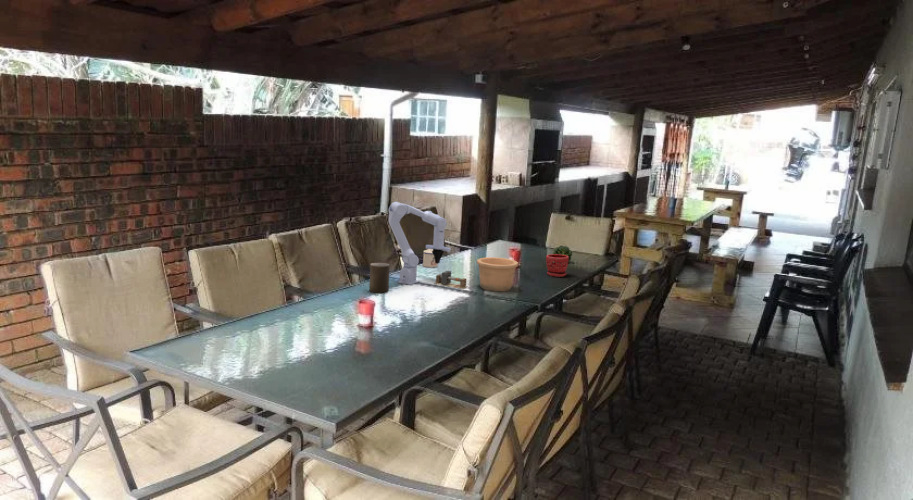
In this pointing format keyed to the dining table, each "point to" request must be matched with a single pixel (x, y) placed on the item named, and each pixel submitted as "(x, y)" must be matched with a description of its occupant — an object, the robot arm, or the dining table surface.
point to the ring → (445, 277)
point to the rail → (461, 286)
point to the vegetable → (563, 251)
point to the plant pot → (557, 265)
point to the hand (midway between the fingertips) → (437, 263)
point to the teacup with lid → (429, 259)
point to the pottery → (496, 273)
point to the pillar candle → (379, 277)
